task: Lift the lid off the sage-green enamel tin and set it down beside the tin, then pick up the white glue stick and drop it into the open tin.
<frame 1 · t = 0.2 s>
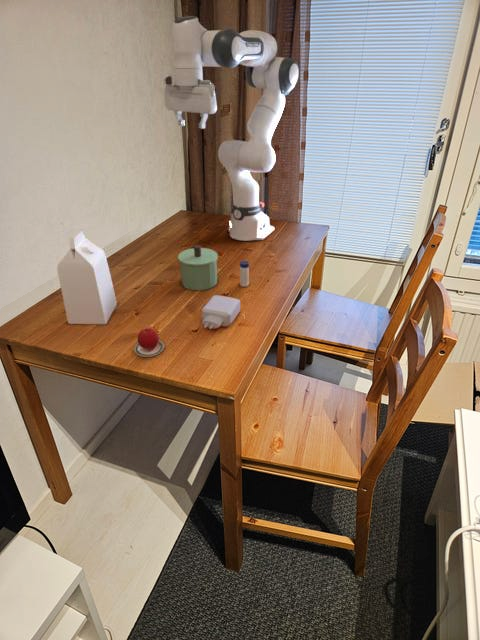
hand: (191, 127, 138), 48 cm above the table, tool pointing down, fingers open, 8 cm apart
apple: (149, 349, 113), on the table
milk: (93, 313, 129), on the table
tin: (199, 281, 147), on the table
glue stick: (244, 284, 145), on the table
tin lid: (198, 257, 141), point 9 cm above the table, touching tin
charger: (217, 322, 125), on the table
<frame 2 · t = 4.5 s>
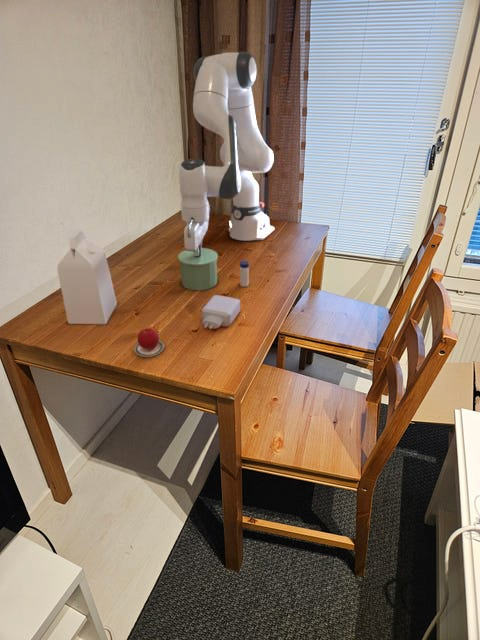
hand: (197, 252, 141), 11 cm above the table, tool pointing down, fingers closed on tin lid, 2 cm apart
tin lid: (198, 257, 141), point 10 cm above the table, touching gripper, tin
everything else where it was.
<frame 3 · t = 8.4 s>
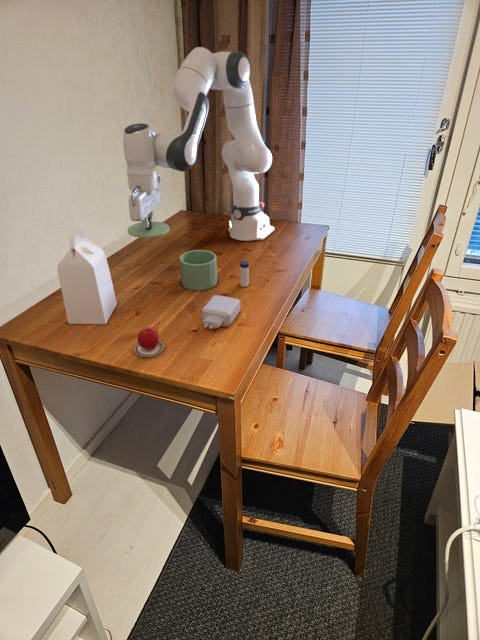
hand: (148, 225, 135), 21 cm above the table, tool pointing down, fingers closed on tin lid, 2 cm apart
tin lid: (148, 230, 135), point 19 cm above the table, touching gripper
everything else where it was.
when the fingers open (2 cm above the table, at t = 12.1 s): tin lid stays where it is, point 1 cm above the table.
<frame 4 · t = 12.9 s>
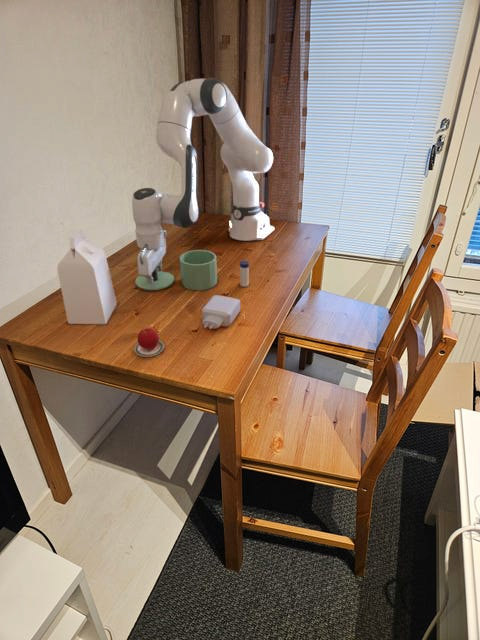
hand: (154, 276, 145), 2 cm above the table, tool pointing down, fingers open, 8 cm apart
tin lid: (155, 281, 146), point 1 cm above the table
everything else where it was.
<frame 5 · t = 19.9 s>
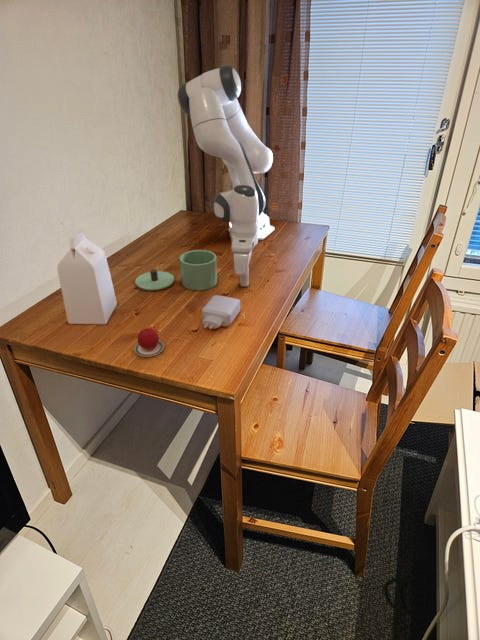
hand: (244, 275, 143), 4 cm above the table, tool pointing down, fingers closed on glue stick, 3 cm apart
glue stick: (244, 284, 145), on the table, touching gripper
everything else where it was.
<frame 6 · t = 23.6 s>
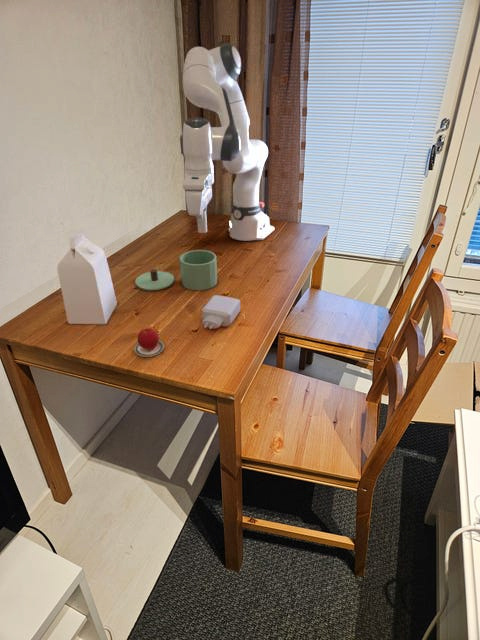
hand: (201, 220, 134), 23 cm above the table, tool pointing down, fingers closed on glue stick, 3 cm apart
glue stick: (202, 231, 136), point 19 cm above the table, touching gripper
everything else where it was.
when the fingers open (9 cm above the table, at t = 28.0 s): glue stick stays where it is, resting on tin.
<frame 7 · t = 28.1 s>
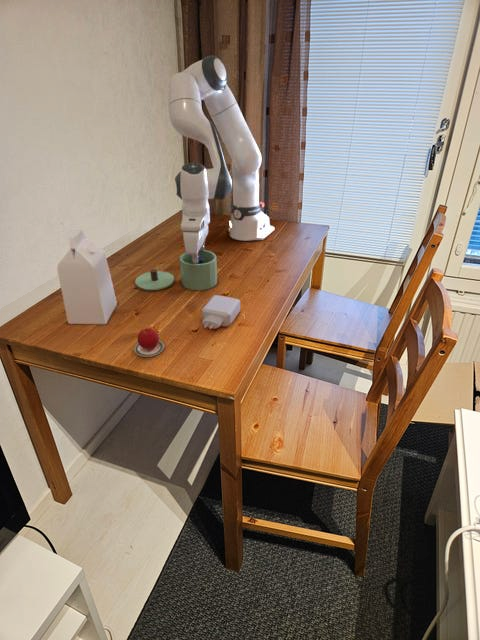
hand: (198, 256, 141), 10 cm above the table, tool pointing down, fingers open, 8 cm apart
glue stick: (199, 280, 146), resting on tin
everything else where it was.
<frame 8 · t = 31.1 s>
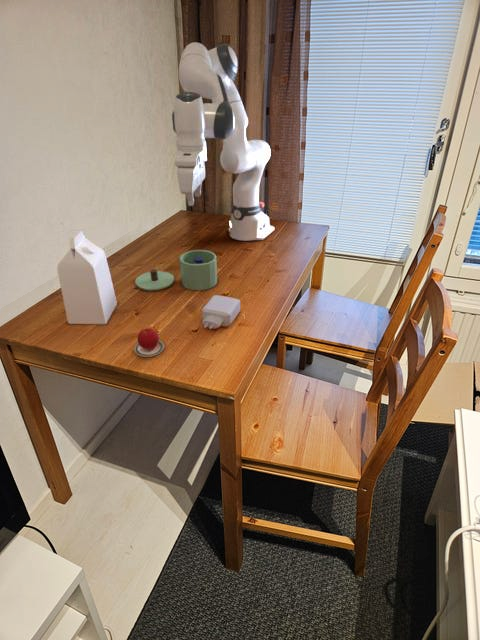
hand: (194, 200, 131), 29 cm above the table, tool pointing down, fingers open, 8 cm apart
nothing on the table moved.
at the end: tin lid inside the target area (0.1 cm from its centre), point 0.6 cm above the table; glue stick inside the target area in the tin (0.0 cm from its centre), point 0.5 cm above the tin's base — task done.
